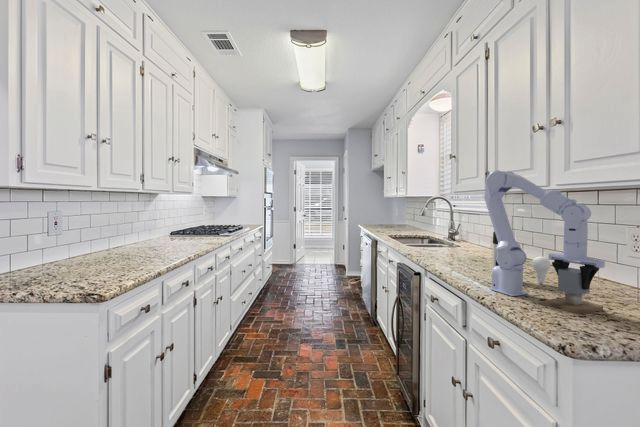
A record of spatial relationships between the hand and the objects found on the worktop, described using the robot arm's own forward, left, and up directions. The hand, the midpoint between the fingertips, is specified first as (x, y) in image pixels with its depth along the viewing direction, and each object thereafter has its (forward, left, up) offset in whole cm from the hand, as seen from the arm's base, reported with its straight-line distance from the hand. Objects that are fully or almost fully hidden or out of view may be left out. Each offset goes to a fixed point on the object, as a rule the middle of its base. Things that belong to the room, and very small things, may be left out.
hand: (573, 286), depth 98 cm
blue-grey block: (0, 0, -1) cm, 1 cm away
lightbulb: (-22, +18, -7) cm, 29 cm away
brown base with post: (0, 0, -6) cm, 6 cm away
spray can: (-34, +11, -7) cm, 36 cm away
